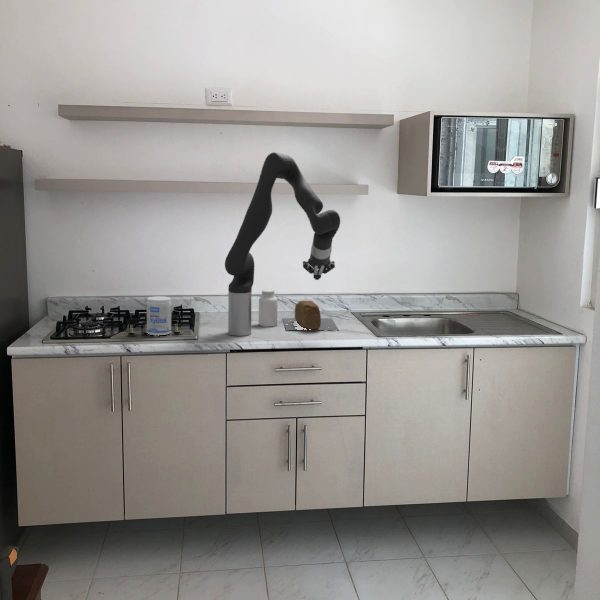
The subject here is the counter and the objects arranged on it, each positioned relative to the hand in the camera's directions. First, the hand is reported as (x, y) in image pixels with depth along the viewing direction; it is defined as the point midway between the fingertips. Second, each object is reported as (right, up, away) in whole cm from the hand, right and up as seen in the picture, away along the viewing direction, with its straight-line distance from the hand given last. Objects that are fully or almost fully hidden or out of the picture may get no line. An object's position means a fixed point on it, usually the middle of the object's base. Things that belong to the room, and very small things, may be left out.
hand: (316, 278), depth 293 cm
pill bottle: (-20, -19, +24) cm, 37 cm away
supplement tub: (-63, -22, +3) cm, 67 cm away
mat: (-2, -19, +26) cm, 32 cm away
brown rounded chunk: (-1, -16, +11) cm, 20 cm away
